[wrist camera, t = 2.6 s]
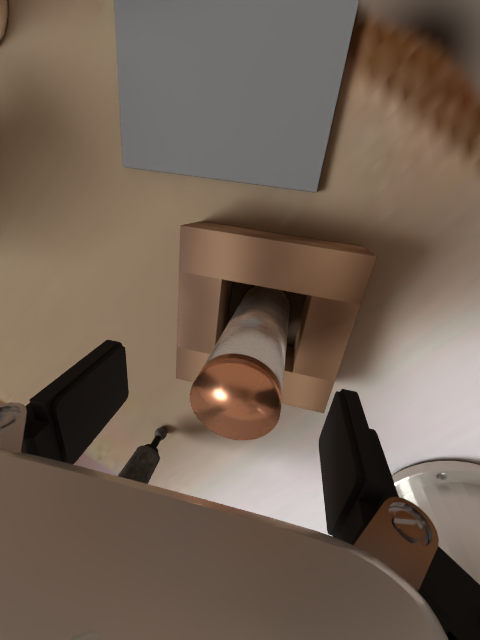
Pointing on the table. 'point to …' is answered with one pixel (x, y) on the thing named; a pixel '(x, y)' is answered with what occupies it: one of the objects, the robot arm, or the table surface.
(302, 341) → the eye block
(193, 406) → the steel peg
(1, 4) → the beer glass
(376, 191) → the table surface
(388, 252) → the table surface
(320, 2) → the slate mat
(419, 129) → the table surface
